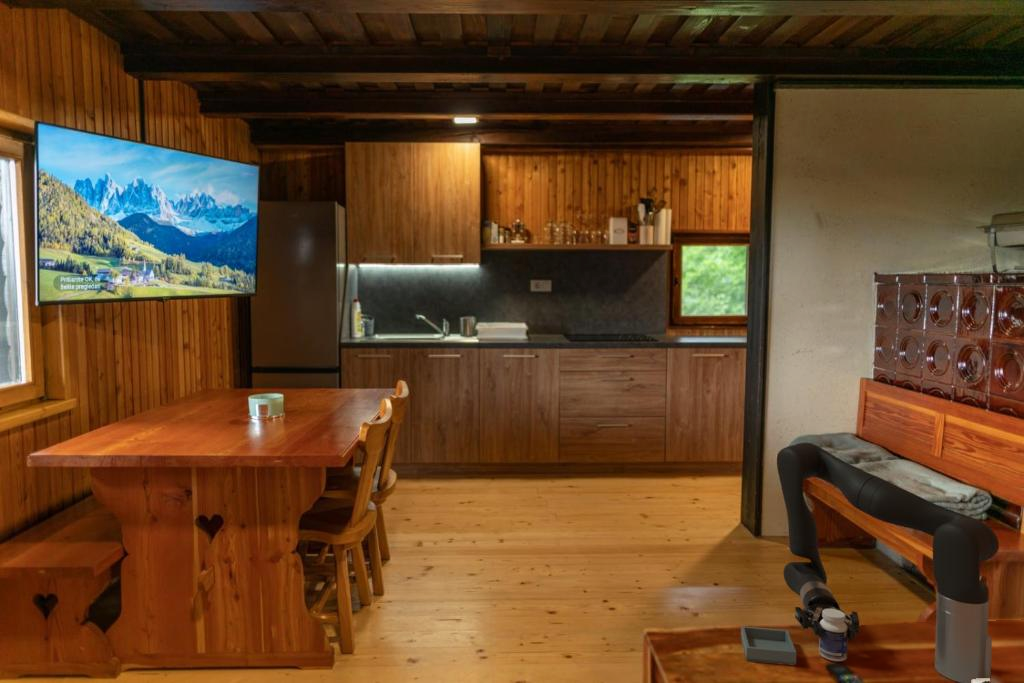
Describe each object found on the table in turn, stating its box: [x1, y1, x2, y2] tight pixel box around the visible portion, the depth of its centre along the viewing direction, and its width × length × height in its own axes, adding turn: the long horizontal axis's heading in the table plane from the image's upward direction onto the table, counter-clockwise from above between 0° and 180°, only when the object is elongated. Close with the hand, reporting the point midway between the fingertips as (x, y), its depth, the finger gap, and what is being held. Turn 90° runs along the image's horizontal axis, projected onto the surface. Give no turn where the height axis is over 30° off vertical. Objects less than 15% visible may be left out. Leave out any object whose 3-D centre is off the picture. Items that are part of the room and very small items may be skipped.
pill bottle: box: [818, 609, 848, 662], centre depth 153 cm, size 6×6×10 cm
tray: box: [740, 625, 797, 666], centre depth 156 cm, size 10×10×3 cm
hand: (836, 634), depth 151 cm, fingers closed on pill bottle, 5 cm apart
